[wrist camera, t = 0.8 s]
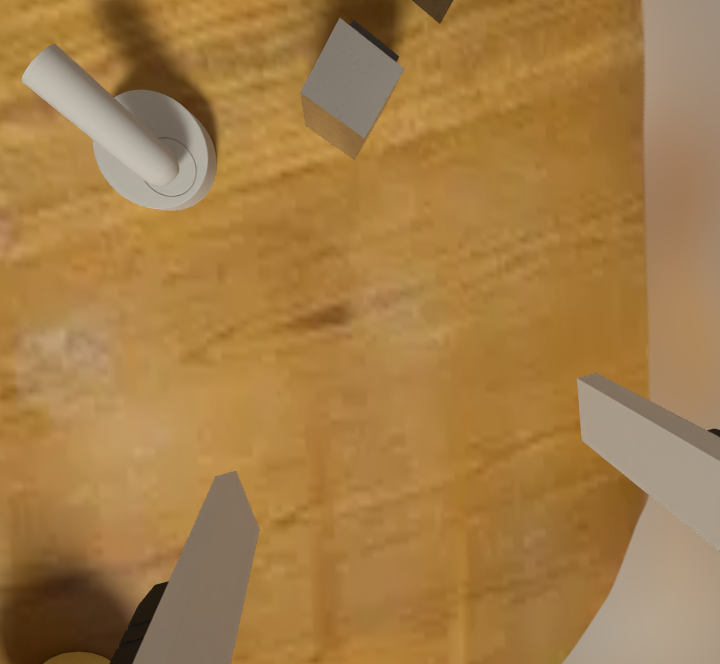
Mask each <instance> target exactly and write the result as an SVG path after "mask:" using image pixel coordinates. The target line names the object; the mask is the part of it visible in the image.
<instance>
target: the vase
mask: <svg viewBox="0 0 720 664" xmlns="http://www.w3.org/2000/svg"><path fill="white" fill-rule="evenodd" d="M110 662H111V661H110V660H108V659H107V658H105V657H103V656H100V655H97V654H94V653H87V652H70V653H63V654H60V655H57V656H55V657H52V658H50V659H49V660H47V661H46V662H45V663H43V664H110Z"/></svg>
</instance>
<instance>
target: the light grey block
mask: <svg viewBox="0 0 720 664" xmlns="http://www.w3.org/2000/svg"><path fill="white" fill-rule="evenodd" d="M398 58H399V56H398V55H397V54H395V53H394V52H393V51H392V50H390V49H389V48H388V47H387V46H385V45H384V44H383V43H382V42H380V41H379V40H378V39H377V38H375V37H374V36H373V35H371V34H370V33H369V32H368V31H366V30H365V29H364V28H363V27H361V26H360V25H359V24H358V23H356V22H355V21H354V20H353V22H352V24H351V26H350V25H348V24H347V23H346V22H345V21H343V20H342V19H341V18H339V20H338V22H337V24H336V26H335V27H334V29H333V31H332V33H331V35H330V37H329V39H328V41H327V43H326V45H325V47H324V48H323V50H322V52H321V54H320V56H319V58H318V60H317V62H316V64H315V66H314V67H313V69H312V71H311V73H310V75H309V77H308V79H307V81H306V83H305V85H304V87H303V88H302V90H301V92H300V93H301V99H302V106H303V112H304V118H305V124H306V127H308V128H309V129H311V130H312V131H313V132H315V133H316V134H318V135H319V136H321V137H322V138H323V139H325V140H326V141H328V142H329V143H331V144H332V145H333V146H335V147H336V148H338V149H339V150H341V151H342V152H344V153H345V154H346V155H348V156H349V157H351V158H352V159H354V160H355V159H356V157H357V156H358V154H359V152H360V150H361V149H362V147H363V145H364V143H365V142H366V140H367V138H368V136H369V135H370V133H371V131H372V129H373V128H374V126H375V124H376V122H377V121H378V119H379V117H380V115H381V114H382V112H383V110H384V108H385V106H386V104H387V102H388V100H389V98H390V96H391V94H392V92H393V90H394V88H395V86H396V84H397V82H398V80H399V78H400V76H401V74H402V72H403V70H404V68H403V67H402V66H400V65H399V64H398V63H397V60H398Z"/></svg>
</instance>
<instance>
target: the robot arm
mask: <svg viewBox="0 0 720 664" xmlns="http://www.w3.org/2000/svg"><path fill="white" fill-rule="evenodd" d="M577 385H578V397H579V410H580V422H581V435H582V441H583V442H584V443H586V444H587V445H588V446H589V447H591V448H592V449H593V450H594V451H595V452H597V453H598V454H599V455H600V456H602V457H603V458H604V459H605V460H607V461H608V462H609V463H610V464H612V465H613V466H614V467H615V468H616V469H618V470H619V471H620V472H621V473H623V474H624V475H625V476H626V477H628V478H629V479H630V480H631V481H632V482H634V483H635V484H636V485H637V486H639V487H640V488H641V489H642V490H644V491H645V492H646V493H647V494H649V495H650V496H651V497H652V498H653V499H655V500H656V501H657V502H658V503H660V504H661V505H662V506H664V507H665V508H666V509H667V510H668V511H670V512H671V513H672V514H673V515H675V516H676V517H677V518H678V519H680V520H681V521H682V522H683V523H684V524H686V525H687V526H688V527H689V528H691V529H692V530H693V531H694V532H695V533H697V534H698V535H699V536H700V537H702V538H703V539H704V540H705V541H707V542H708V543H709V544H711V545H712V546H713V547H714V548H715V549H716V550H718V551H719V552H720V430H718V429H711V430H705V429H703V428H701V427H699V426H697V425H695V424H693V423H691V422H689V421H688V420H686V419H684V418H682V417H680V416H678V415H676V414H674V413H672V412H670V411H668V410H666V409H665V408H663V407H661V406H659V405H657V404H655V403H653V402H651V401H649V400H647V399H645V398H643V397H641V396H640V395H638V394H636V393H634V392H632V391H630V390H628V389H626V388H624V387H622V386H620V385H618V384H616V383H614V382H613V381H611V380H609V379H607V378H605V377H603V376H601V375H599V374H597V373H595V374H591V375H588V376H584V377H580V378H577ZM259 530H260V529H259V527H258V524H257V522H256V519H255V517H254V514H253V512H252V509H251V507H250V504H249V502H248V499H247V497H246V495H245V492H244V490H243V487H242V485H241V482H240V480H239V477H238V475H237V472H236V471H233V472H230V473H226V474H222V475H219V476H215V479H214V481H213V483H212V485H211V488H210V490H209V492H208V494H207V497H206V499H205V501H204V503H203V506H202V508H201V510H200V512H199V515H198V517H197V519H196V522H195V524H194V526H193V528H192V531H191V533H190V535H189V537H188V540H187V542H186V544H185V546H184V549H183V551H182V553H181V555H180V558H179V560H178V562H177V564H176V567H175V569H174V571H173V573H172V576H171V578H170V580H169V581H168V582H164V583H161V584H157V585H154V587H153V588H152V589H151V590H150V592H149V593H148V594H147V595H146V597H145V598H144V599H143V600H142V602H141V603H140V604H139V605H138V607H137V609H136V611H135V613H134V615H133V617H132V619H131V621H130V623H129V625H128V630H127V631H125V634H124V636H123V638H122V640H121V642H120V644H119V649H117V650H116V652H115V654H114V656H113V658H112V660H111V662H110V664H231V660H232V655H233V650H234V646H235V641H236V637H237V632H238V627H239V623H240V618H241V613H242V609H243V604H244V600H245V595H246V590H247V586H248V581H249V576H250V572H251V567H252V562H253V558H254V553H255V549H256V544H257V539H258V535H259Z"/></svg>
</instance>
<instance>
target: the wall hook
mask: <svg viewBox="0 0 720 664" xmlns="http://www.w3.org/2000/svg"><path fill="white" fill-rule="evenodd" d="M22 82H23V83H24V84H26V85H27V86H28V87H29V88H30V89H32V90H33V91H34V92H35V93H37V94H38V95H39V96H40V97H42V98H43V99H44V100H45V101H46V102H48V103H49V104H50V105H51V106H53V107H54V108H55V109H56V110H58V111H59V112H60V113H61V114H62V115H64V116H65V117H66V118H67V119H69V120H70V121H71V122H72V123H73V124H75V125H76V126H77V127H78V128H80V129H81V130H82V131H83V132H85V133H86V134H87V135H88V136H89V137H91V138H92V139H93V149H94V154H95V158H96V161H97V163H98V166H99V168H100V170H101V172H102V174H103V175H104V177H105V178H106V180H107V181H108V182H109V184H110V185H111V186H112V187H113V188H114V189H115V190H116V191H117V192H118V193H119V194H121V195H122V196H123V197H125V198H126V199H128V200H130V201H132V202H134V203H136V204H138V205H141V206H144V207H148V208H153V209H161V210H170V211H174V210H182V209H186V208H189V207H191V206H193V205H195V204H196V203H198V202H199V201H200V200H202V199H203V198H204V197H205V196H206V194H207V193H208V192H209V190H210V189H211V187H212V185H213V182H214V179H215V175H216V169H217V159H216V152H215V148H214V145H213V142H212V140H211V138H210V136H209V134H208V132H207V130H206V129H205V127H204V126H203V125H202V124H201V122H200V121H199V120H198V119H197V118H196V117H195V116H194V115H192V114H191V113H190V112H189V111H188V110H187V109H186V108H185V107H183V106H182V105H181V104H180V103H178V102H177V101H176V100H174V99H172V98H170V97H169V96H166V95H164V94H162V93H159V92H155V91H151V90H131V91H127V92H124V93H121V94H119V95H117V96H116V97H113V96H112V95H111V94H110V93H109V92H107V91H106V90H105V89H104V88H103V87H102V86H101V85H100V84H99V83H98V82H96V81H95V80H94V79H93V78H92V77H91V76H90V75H89V74H88V73H87V72H86V71H84V70H83V69H82V68H81V67H80V66H79V65H78V64H77V63H76V62H75V61H74V60H72V59H71V58H70V57H69V56H68V55H67V54H66V53H65V52H64V51H63V50H62V49H60V48H59V47H58V46H57V45H56V44H53V45H50V46H48V47H47V48H45V49H44V50H43V51H42V52H41V53H40V54H39V55H37V56H36V58H35V59H34V60H33V61H32V62H31V63H30V65H29V66H28V68H27V69H26V71H25V72H24V74H23V77H22Z"/></svg>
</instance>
